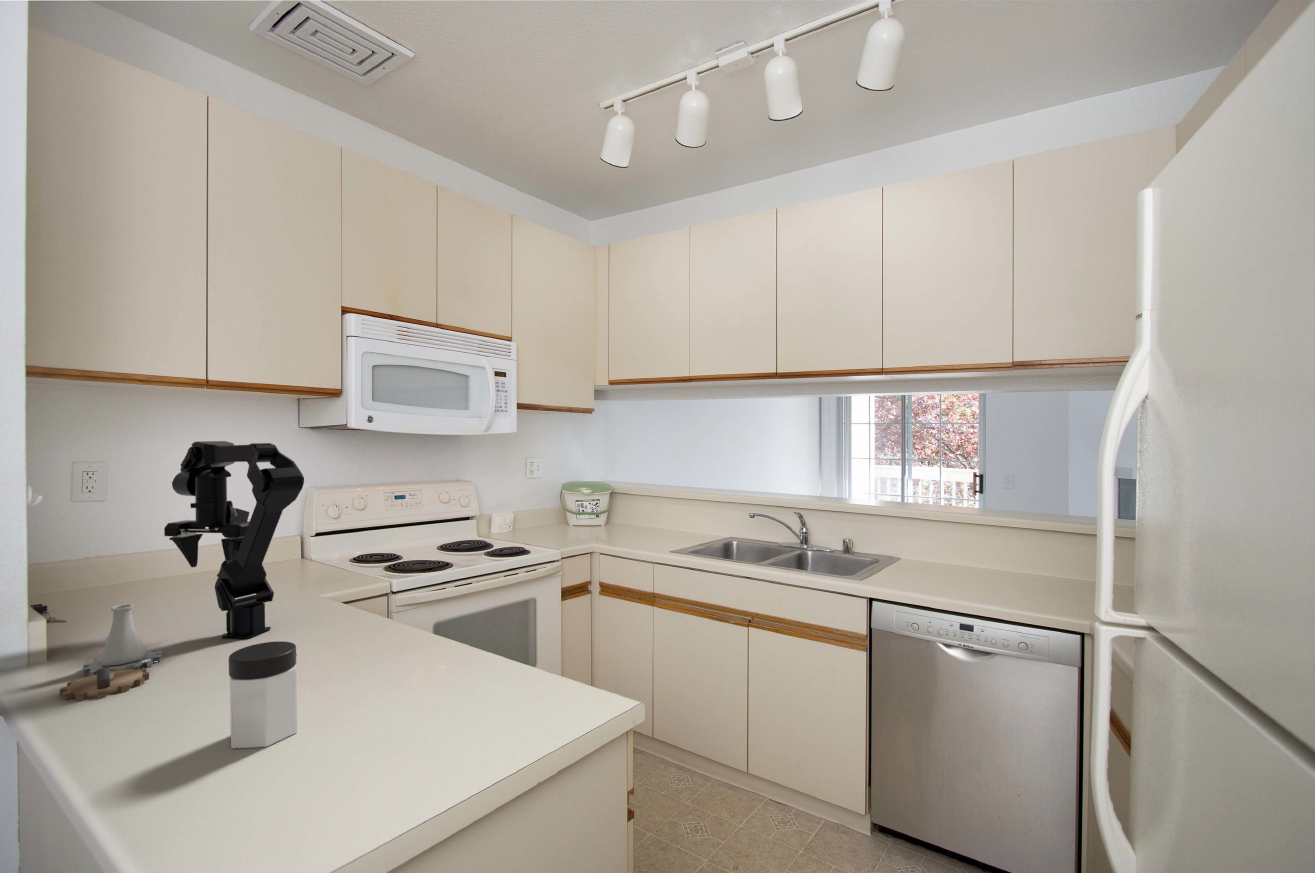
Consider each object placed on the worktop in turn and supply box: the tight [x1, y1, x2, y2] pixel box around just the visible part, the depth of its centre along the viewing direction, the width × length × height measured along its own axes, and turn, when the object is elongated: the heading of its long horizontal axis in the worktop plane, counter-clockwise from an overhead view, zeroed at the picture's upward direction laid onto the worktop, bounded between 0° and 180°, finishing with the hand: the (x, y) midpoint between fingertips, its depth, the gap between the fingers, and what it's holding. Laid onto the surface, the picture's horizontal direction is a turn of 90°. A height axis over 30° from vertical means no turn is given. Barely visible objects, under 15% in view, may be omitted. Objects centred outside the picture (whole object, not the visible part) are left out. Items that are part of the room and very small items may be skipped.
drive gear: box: [59, 667, 150, 702], centre depth 105 cm, size 11×11×4 cm
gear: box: [81, 648, 163, 677], centre depth 115 cm, size 11×11×1 cm
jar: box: [228, 640, 299, 750], centre depth 88 cm, size 9×8×12 cm
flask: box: [97, 603, 148, 666], centre depth 115 cm, size 7×7×10 cm
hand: (212, 567), depth 138 cm, fingers open, 9 cm apart
